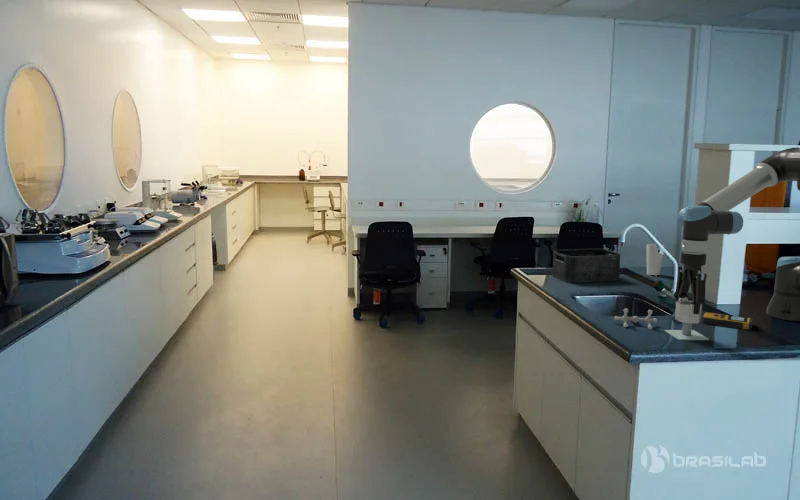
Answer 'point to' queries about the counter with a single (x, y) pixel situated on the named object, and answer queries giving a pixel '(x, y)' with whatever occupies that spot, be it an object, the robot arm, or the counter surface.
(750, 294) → the counter surface
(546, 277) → the counter surface
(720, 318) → the electronic device
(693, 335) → the block
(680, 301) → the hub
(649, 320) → the molecular model
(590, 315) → the counter surface
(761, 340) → the counter surface
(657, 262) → the cup
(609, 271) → the storage bin
